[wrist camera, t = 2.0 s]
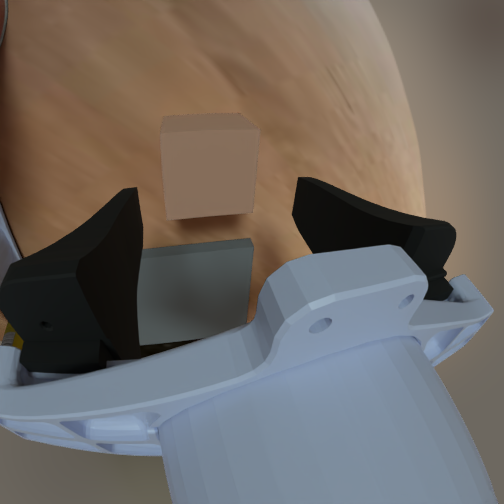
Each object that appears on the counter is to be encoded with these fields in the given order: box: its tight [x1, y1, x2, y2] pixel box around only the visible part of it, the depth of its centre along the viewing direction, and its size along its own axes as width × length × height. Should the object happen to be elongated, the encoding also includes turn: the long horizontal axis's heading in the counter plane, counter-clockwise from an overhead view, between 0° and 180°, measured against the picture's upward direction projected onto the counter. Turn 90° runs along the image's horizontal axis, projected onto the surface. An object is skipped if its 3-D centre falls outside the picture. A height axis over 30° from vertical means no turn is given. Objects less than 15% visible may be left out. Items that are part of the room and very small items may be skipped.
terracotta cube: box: [160, 113, 260, 220], centre depth 16 cm, size 5×5×5 cm
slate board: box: [137, 238, 254, 345], centre depth 25 cm, size 18×12×1 cm, turn 85°
